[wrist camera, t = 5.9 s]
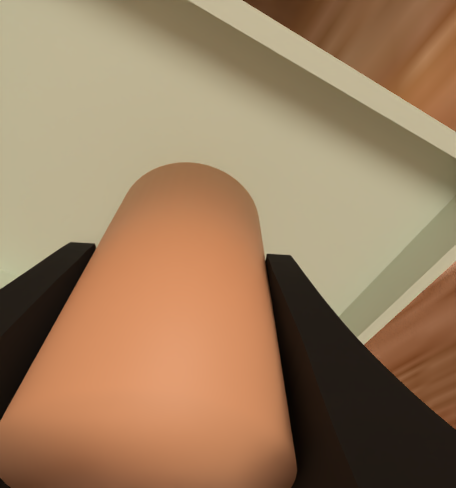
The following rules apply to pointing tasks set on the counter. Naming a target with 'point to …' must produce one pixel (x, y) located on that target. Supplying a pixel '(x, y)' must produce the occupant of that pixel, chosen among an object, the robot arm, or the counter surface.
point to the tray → (220, 142)
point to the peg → (160, 353)
